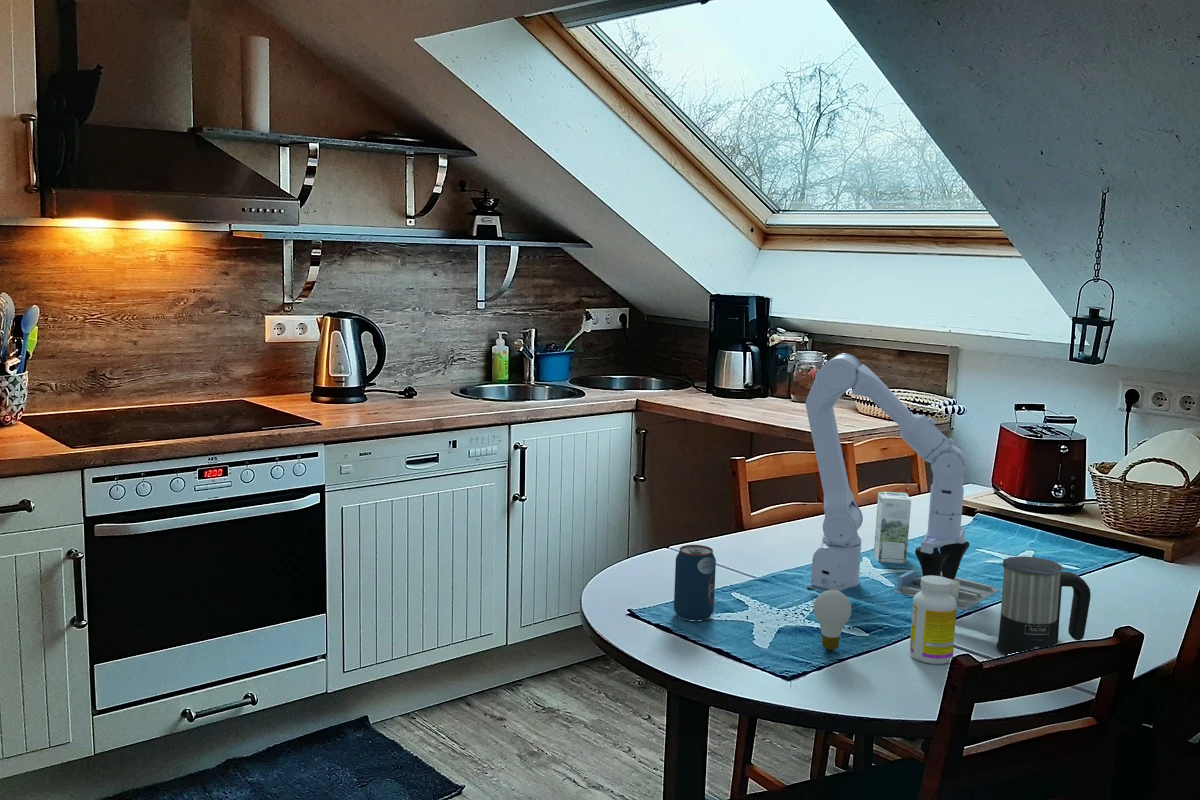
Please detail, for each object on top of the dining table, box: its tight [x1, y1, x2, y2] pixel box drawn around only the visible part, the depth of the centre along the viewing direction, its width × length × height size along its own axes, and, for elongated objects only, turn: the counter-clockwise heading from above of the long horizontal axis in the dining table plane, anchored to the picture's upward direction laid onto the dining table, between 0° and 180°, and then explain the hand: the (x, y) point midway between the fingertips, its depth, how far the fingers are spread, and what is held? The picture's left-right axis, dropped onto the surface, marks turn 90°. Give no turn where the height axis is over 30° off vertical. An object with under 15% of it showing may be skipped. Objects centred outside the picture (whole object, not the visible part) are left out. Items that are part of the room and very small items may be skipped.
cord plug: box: [913, 576, 960, 598], centre depth 200 cm, size 3×8×3 cm, turn 49°
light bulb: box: [813, 589, 852, 652], centre depth 173 cm, size 6×6×10 cm
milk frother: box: [995, 555, 1092, 656], centre depth 178 cm, size 14×16×15 cm
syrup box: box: [873, 491, 912, 564], centre depth 220 cm, size 6×6×14 cm
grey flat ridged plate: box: [892, 569, 1001, 611], centre depth 202 cm, size 16×14×4 cm
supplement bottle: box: [909, 576, 958, 665], centre depth 171 cm, size 7×7×13 cm
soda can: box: [673, 544, 717, 621], centre depth 187 cm, size 7×7×12 cm
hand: (939, 583), depth 199 cm, fingers open, 7 cm apart
